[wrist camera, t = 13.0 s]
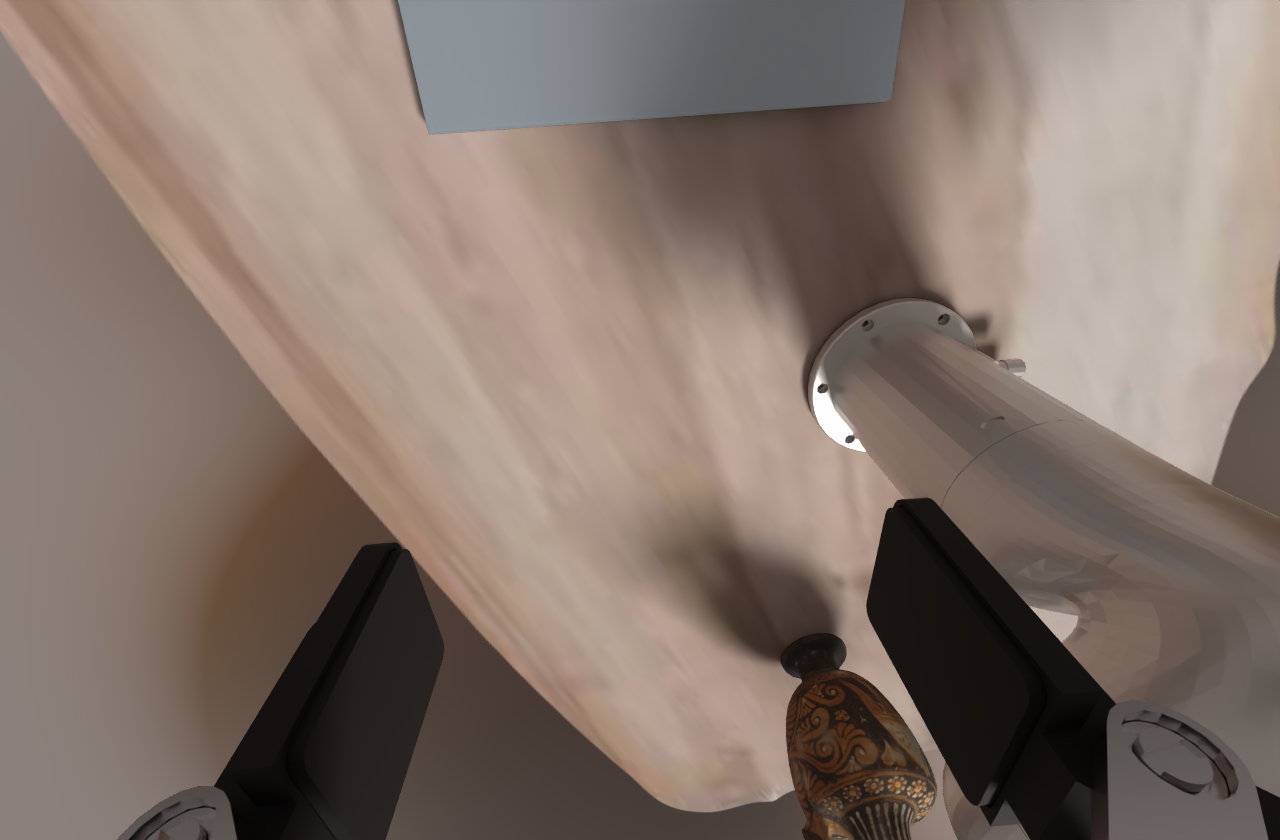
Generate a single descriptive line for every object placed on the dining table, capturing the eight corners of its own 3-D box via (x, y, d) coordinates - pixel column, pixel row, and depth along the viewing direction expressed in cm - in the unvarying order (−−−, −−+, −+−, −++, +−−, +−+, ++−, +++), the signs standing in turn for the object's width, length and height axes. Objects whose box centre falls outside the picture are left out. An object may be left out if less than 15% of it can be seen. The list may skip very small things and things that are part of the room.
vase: (871, 671, 58) (1086, 1111, 32) (764, 699, 60) (887, 1141, 33) (857, 604, 53) (1106, 1069, 26) (740, 636, 54) (865, 1107, 28)
